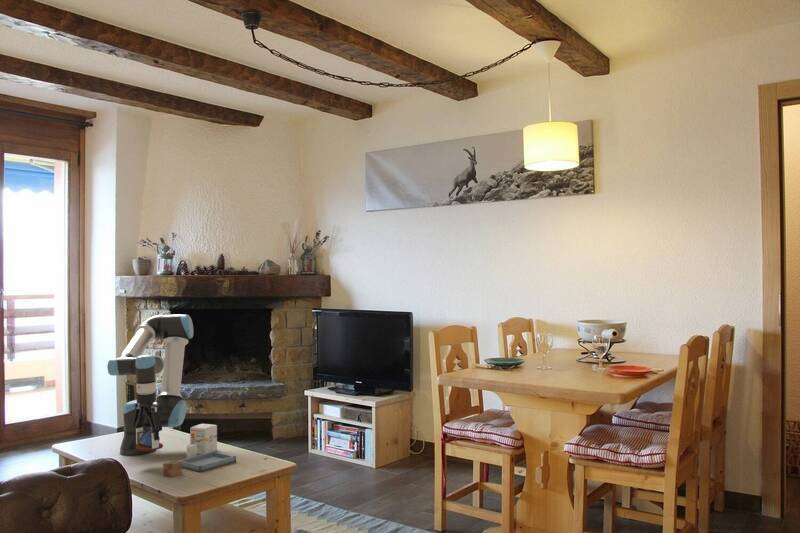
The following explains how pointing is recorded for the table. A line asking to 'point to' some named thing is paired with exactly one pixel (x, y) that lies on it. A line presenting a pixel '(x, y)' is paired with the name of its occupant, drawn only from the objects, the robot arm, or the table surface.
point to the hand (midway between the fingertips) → (147, 445)
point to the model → (146, 441)
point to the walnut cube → (172, 468)
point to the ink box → (204, 438)
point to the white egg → (191, 450)
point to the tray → (207, 461)
